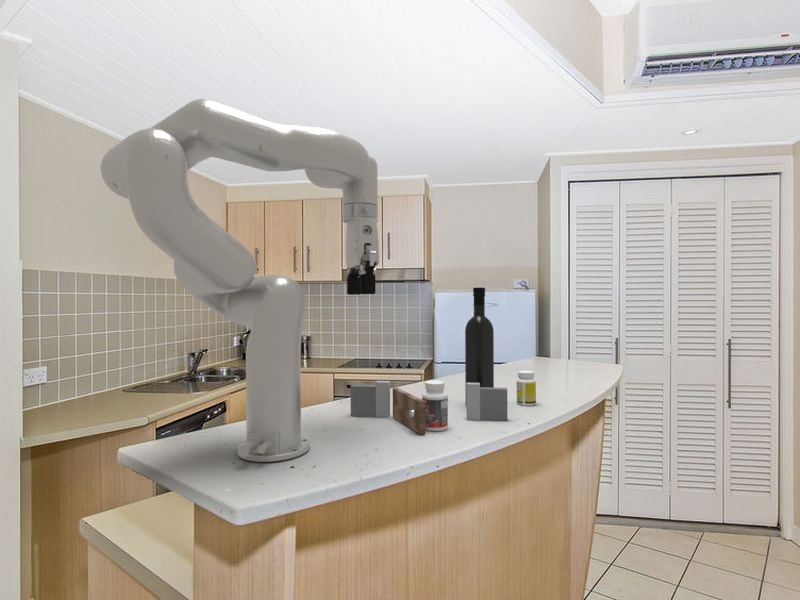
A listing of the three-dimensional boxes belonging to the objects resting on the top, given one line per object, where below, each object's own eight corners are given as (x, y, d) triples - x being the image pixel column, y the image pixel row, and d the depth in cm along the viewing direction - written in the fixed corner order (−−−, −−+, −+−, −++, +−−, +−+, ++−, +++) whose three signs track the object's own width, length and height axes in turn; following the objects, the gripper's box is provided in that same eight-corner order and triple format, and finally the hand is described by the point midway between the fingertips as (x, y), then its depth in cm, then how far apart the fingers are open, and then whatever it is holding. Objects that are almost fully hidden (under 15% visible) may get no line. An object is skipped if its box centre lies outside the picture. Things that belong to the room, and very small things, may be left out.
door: (387, 416, 104) (387, 388, 104) (397, 415, 105) (397, 387, 105) (414, 435, 90) (414, 402, 90) (425, 433, 91) (425, 401, 91)
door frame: (507, 421, 101) (507, 385, 101) (350, 416, 105) (350, 381, 105) (506, 418, 103) (506, 383, 103) (352, 413, 107) (352, 380, 107)
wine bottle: (478, 402, 118) (478, 288, 118) (495, 406, 114) (495, 287, 114) (463, 406, 115) (463, 287, 115) (480, 410, 110) (480, 287, 110)
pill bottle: (417, 429, 95) (417, 382, 95) (429, 423, 99) (429, 378, 99) (440, 433, 92) (440, 385, 92) (452, 426, 96) (451, 381, 96)
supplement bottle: (538, 403, 117) (538, 371, 117) (533, 407, 113) (532, 373, 113) (519, 401, 120) (519, 369, 120) (514, 404, 116) (514, 372, 116)
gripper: (390, 209, 91) (391, 294, 91) (364, 222, 107) (364, 294, 107) (355, 206, 88) (355, 294, 88) (333, 220, 104) (333, 294, 104)
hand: (360, 294), depth 98 cm, fingers open, 9 cm apart
